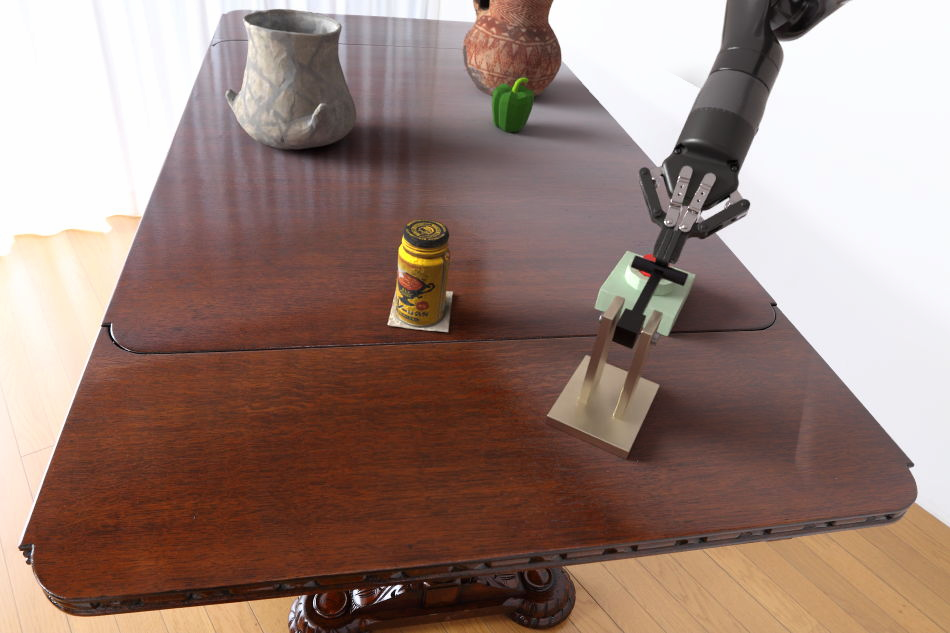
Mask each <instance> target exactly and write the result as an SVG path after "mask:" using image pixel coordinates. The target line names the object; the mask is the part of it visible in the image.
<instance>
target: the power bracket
mask: <svg viewBox="0 0 950 633" xmlns="http://www.w3.org/2000/svg"><path fill="white" fill-rule="evenodd" d="M624 302H625V298H623V297H620V296H617V295H616V297H615V298H614V300H613V301H612V303H611V304H610V306H609V307H608V309H607V310H606V312H604V311H603V312H602V311H601V314H600V316H599V319H598V322H597V323H598V326H599V328H598V330H597V334H596V337H595V340H594V345H593V347H592V352H591V354H590V355H587V354H585V356H584V357H583V358H582V361H580V363H579V365H578V366H577V368H576V369H575V371H574V373H573V374H572V376H571V377H570V379H569V381H568V382H567V384H565V386H564V388H563V390H562V392H561V393H560V394H559V395H558V398H557V399H556V401H555V402H554V404H553V406H552V407H551V409H550V410H549V412H548V413H547V414H546V418H545V421H544V422H545V424H546V425H548V426H550V427H553V428H555V429H557V430H559V431H562V432H564V433H566V434H568V435H571V436H573V437H575V438H577V439H580V440H582V441H583V442H586V443H588V444H591V445H592V446H595V447H597V448H599V449H602V450H604V451H606V452H608V453H610V454H613V455H615V456H617V457H619V458H621V459H623V460H627V459H628V458H629V454H630V453H631V450H632V448H633V446H634V444H635V442H636V439H637V437H638V435H639V433H640V431H641V429H642V426H643V424H644V422H645V419H646V418H647V416H648V413H649V412H650V409H651V407H652V405H653V402H654V401H655V398H656V395H657V394H658V391H659V389H660V385H661V384H659V383H657V382H654V381H651V380H649V379H646V378H644V377H642V374H643V372H644V369H645V366H646V363H647V361H648V358H649V355H650V352H651V349H652V347H656V346H657V343H658V342H659V339H660V336H661V334H660V333H659V332H657V330H658V327H659V324H660V322H661V319H662V316H663V313H662V312H660V311H657V310H653V312H652V314H651V316H650V318H649V320H648V321H647V323H646V325H645V327H643V328H642V331H641V333H640V335H639V338H638V341H637V344H636V348H635V350H634V353H633V356H632V359H631V362H630V365H629V368H628V371H627V370H624V369H621V368H619V367H618V366H615V365H612V364H609V363H607V359H608V356H609V353H610V350H611V347H612V344H613V341H612V338H613V335H614V331H615V327H616V324H617V323H618V321H619V319H620V315H621V312H622V309H623V305H624Z"/></svg>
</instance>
